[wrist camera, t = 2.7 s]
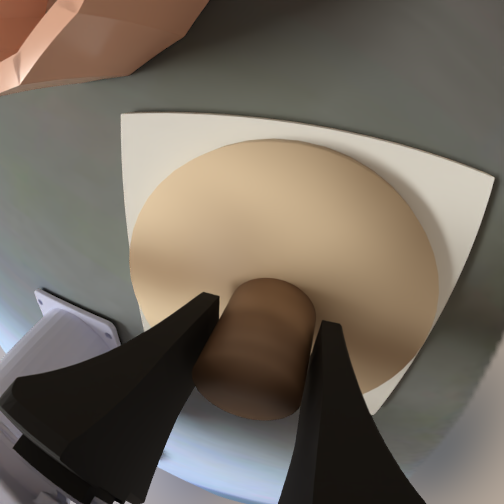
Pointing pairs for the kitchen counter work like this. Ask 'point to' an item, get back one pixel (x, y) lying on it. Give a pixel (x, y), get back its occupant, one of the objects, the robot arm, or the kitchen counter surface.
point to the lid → (285, 268)
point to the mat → (349, 143)
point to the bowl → (85, 38)
